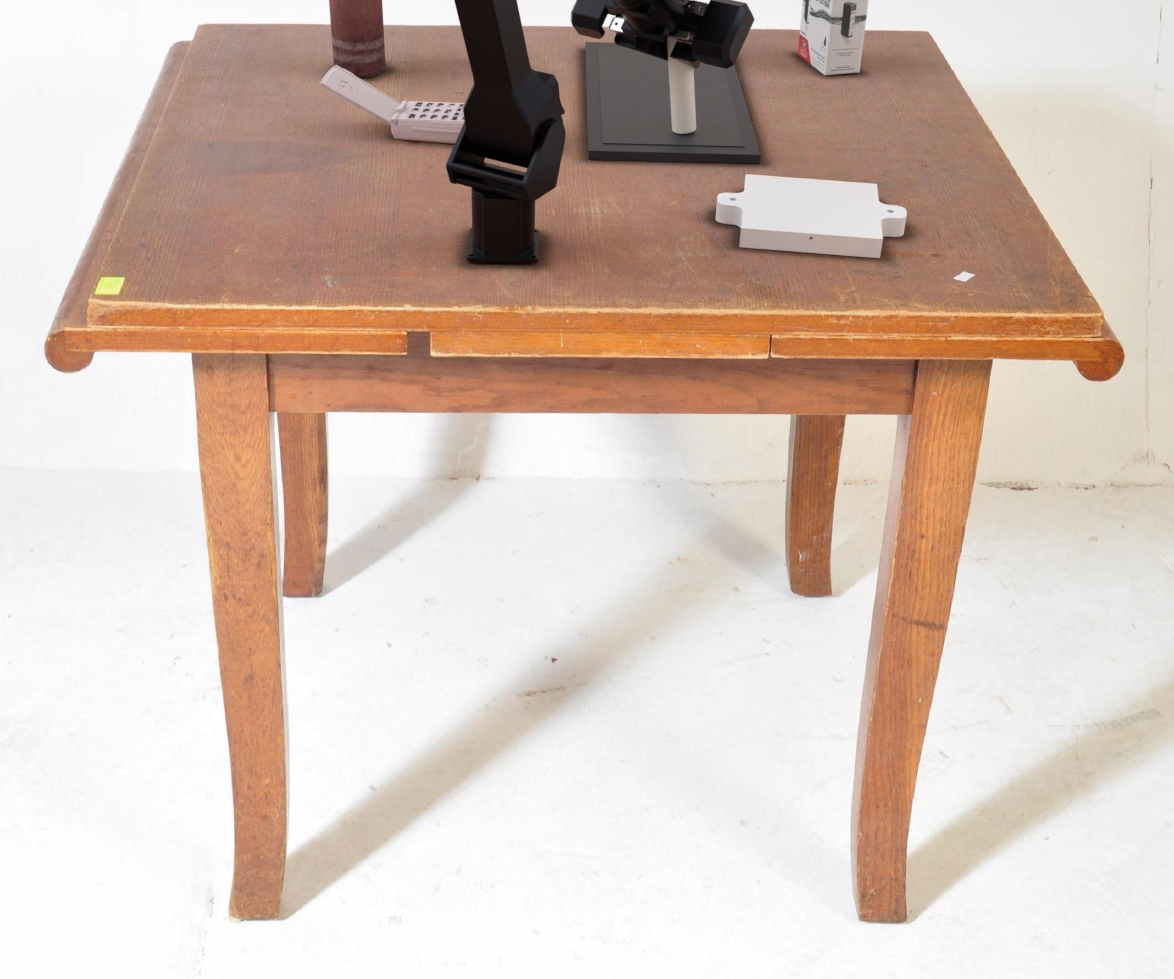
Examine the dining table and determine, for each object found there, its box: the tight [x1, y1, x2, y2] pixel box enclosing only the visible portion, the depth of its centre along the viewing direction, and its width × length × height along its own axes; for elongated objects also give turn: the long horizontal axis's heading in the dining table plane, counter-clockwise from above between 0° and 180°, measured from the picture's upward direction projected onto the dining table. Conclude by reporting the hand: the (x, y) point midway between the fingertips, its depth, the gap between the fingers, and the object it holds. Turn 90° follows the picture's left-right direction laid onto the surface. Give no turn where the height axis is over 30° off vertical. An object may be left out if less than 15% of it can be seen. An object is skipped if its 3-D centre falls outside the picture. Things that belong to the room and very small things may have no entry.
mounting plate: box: [715, 173, 908, 259], centre depth 138 cm, size 18×13×2 cm
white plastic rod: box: [667, 0, 696, 134], centre depth 150 cm, size 3×3×14 cm
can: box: [328, 0, 387, 79], centre depth 167 cm, size 6×6×14 cm
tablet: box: [584, 41, 762, 165], centre depth 165 cm, size 36×18×1 cm, turn 1°
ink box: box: [797, 0, 870, 76], centre depth 174 cm, size 8×5×12 cm, turn 17°
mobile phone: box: [318, 65, 465, 145], centre depth 153 cm, size 6×6×25 cm
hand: (686, 61), depth 151 cm, fingers closed on white plastic rod, 3 cm apart
